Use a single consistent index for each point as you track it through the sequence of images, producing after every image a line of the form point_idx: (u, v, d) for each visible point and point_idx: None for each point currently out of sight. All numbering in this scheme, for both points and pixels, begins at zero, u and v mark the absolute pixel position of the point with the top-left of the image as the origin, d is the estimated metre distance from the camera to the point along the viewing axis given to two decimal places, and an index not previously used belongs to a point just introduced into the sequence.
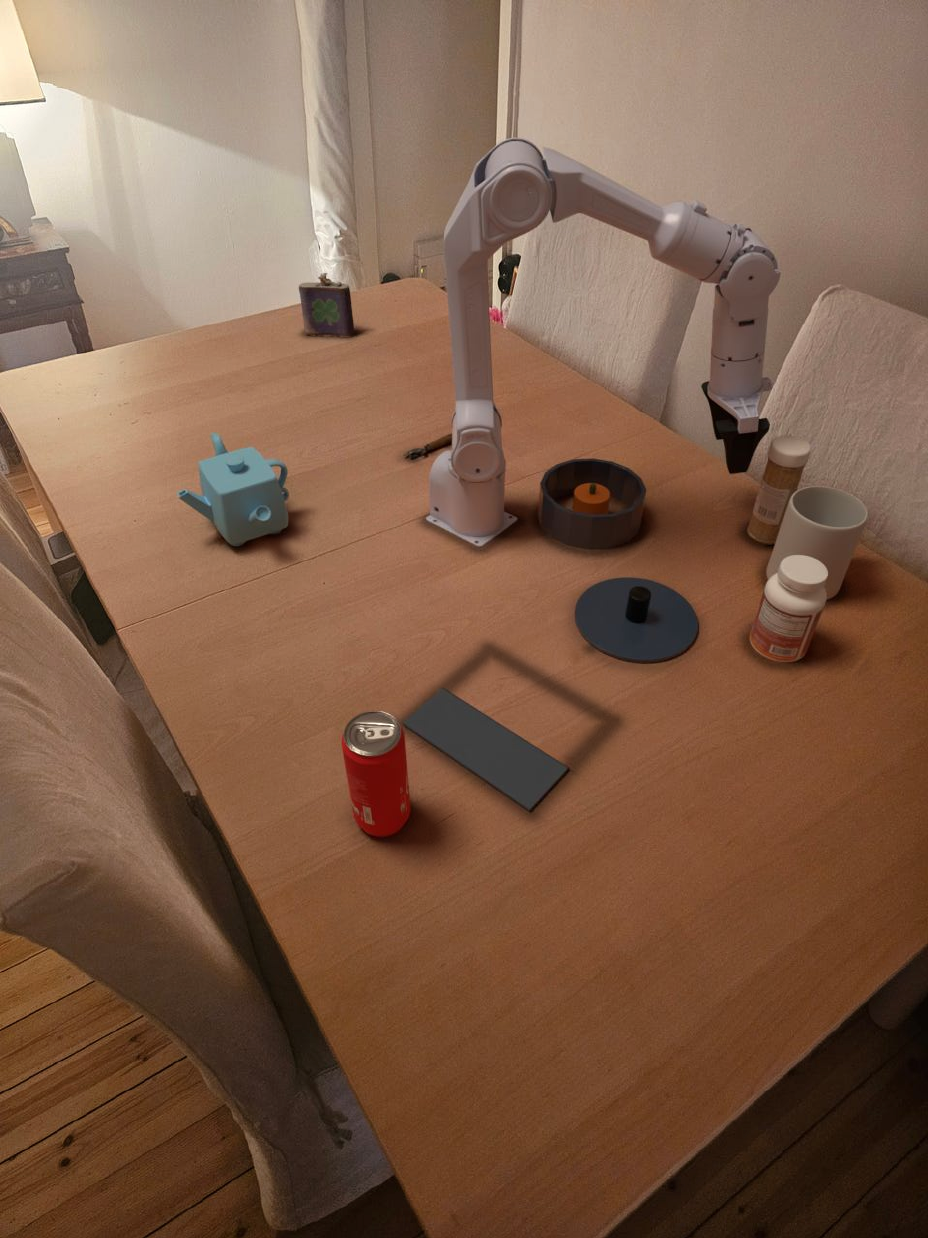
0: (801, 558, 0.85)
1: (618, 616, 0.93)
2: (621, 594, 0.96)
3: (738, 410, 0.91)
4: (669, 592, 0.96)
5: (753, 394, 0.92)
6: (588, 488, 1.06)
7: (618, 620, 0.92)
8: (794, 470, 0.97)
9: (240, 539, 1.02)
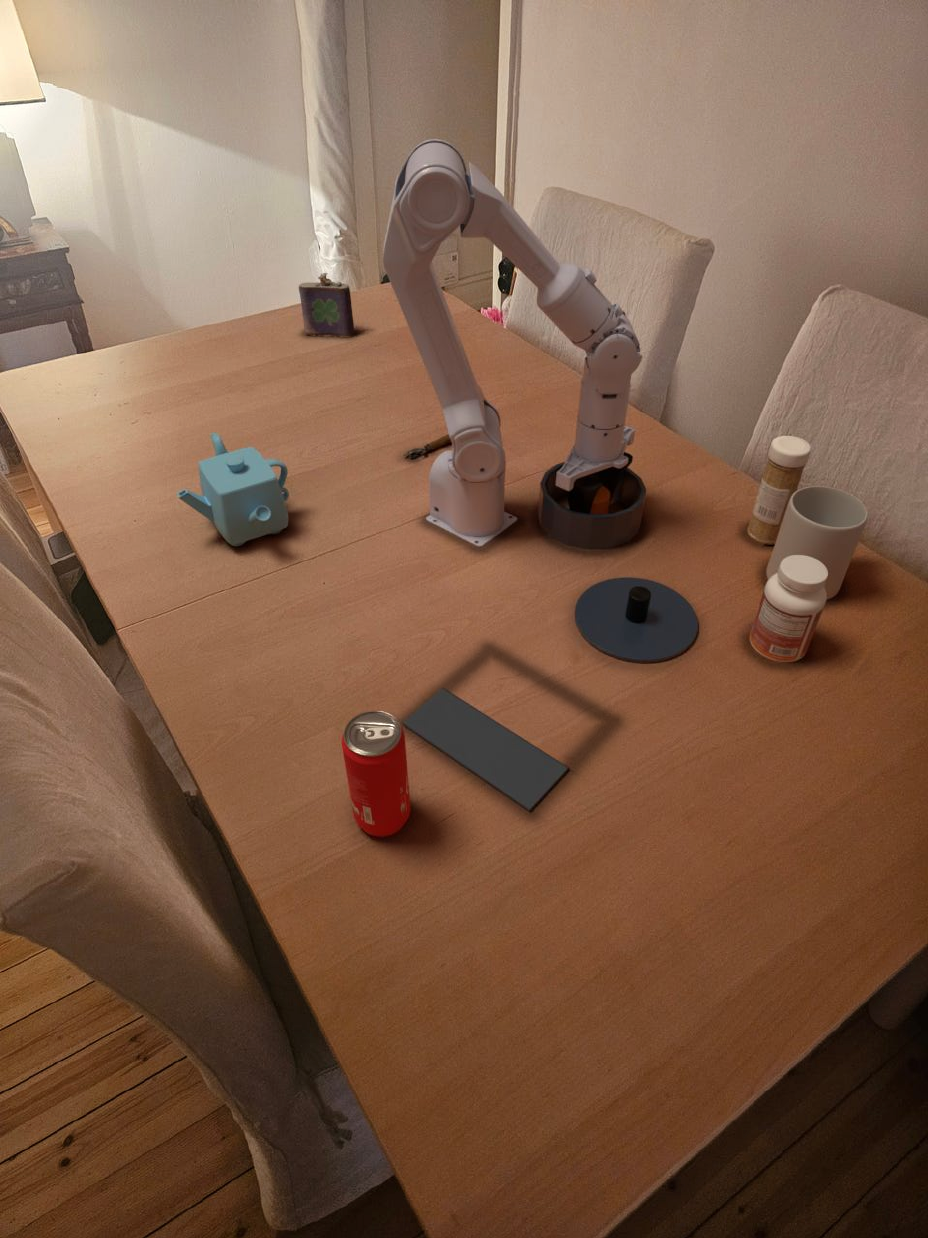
0: (801, 558, 0.85)
1: (618, 616, 0.93)
2: (621, 594, 0.96)
3: (570, 467, 0.99)
4: (669, 592, 0.96)
5: (595, 462, 0.99)
6: None
7: (618, 620, 0.92)
8: (794, 470, 0.97)
9: (240, 539, 1.02)
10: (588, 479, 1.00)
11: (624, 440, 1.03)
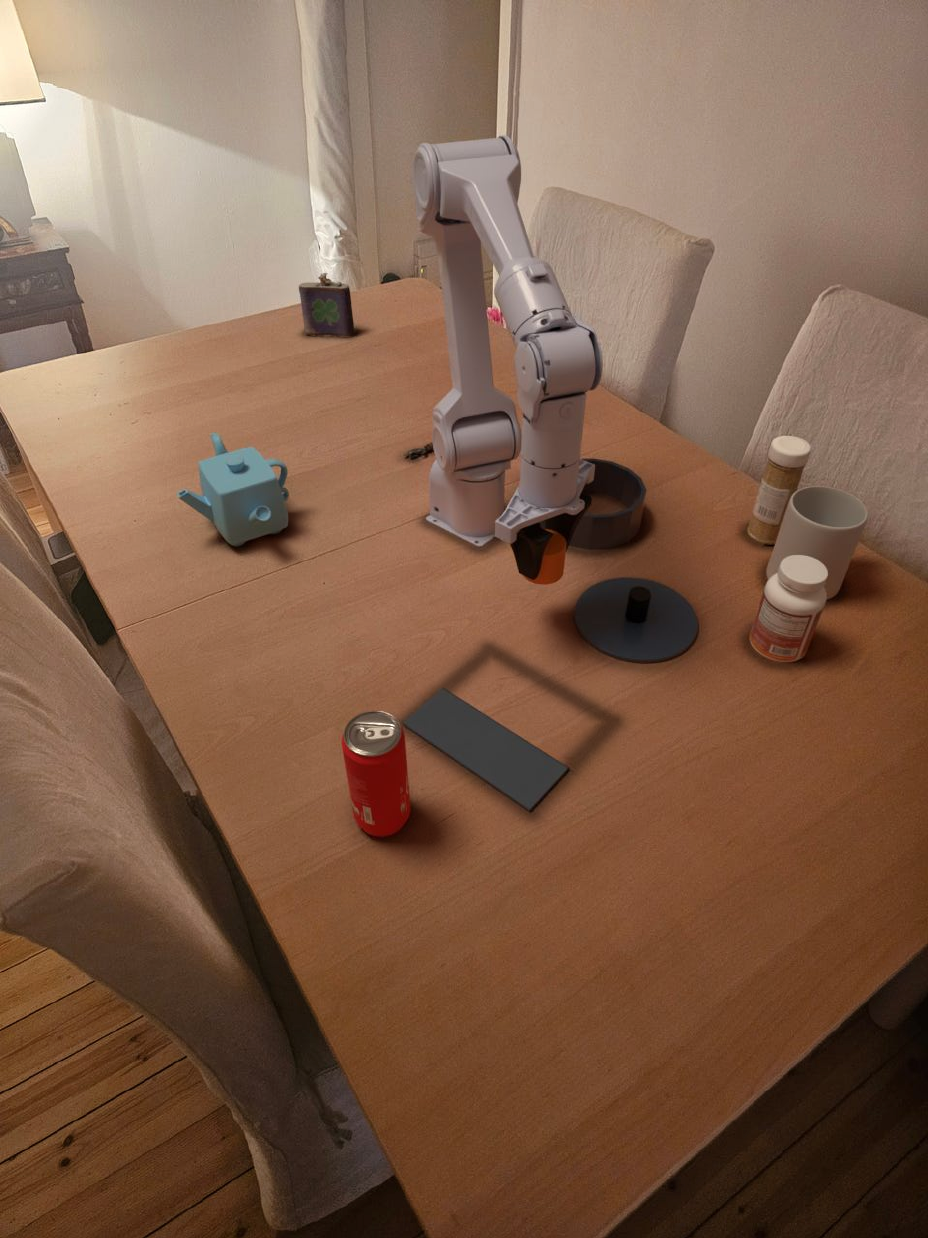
0: (801, 558, 0.85)
1: (618, 616, 0.93)
2: (621, 594, 0.96)
3: (512, 514, 0.80)
4: (669, 592, 0.96)
5: (544, 508, 0.80)
6: None
7: (618, 620, 0.92)
8: (794, 470, 0.97)
9: (240, 539, 1.02)
10: (536, 527, 0.81)
11: (581, 478, 0.84)
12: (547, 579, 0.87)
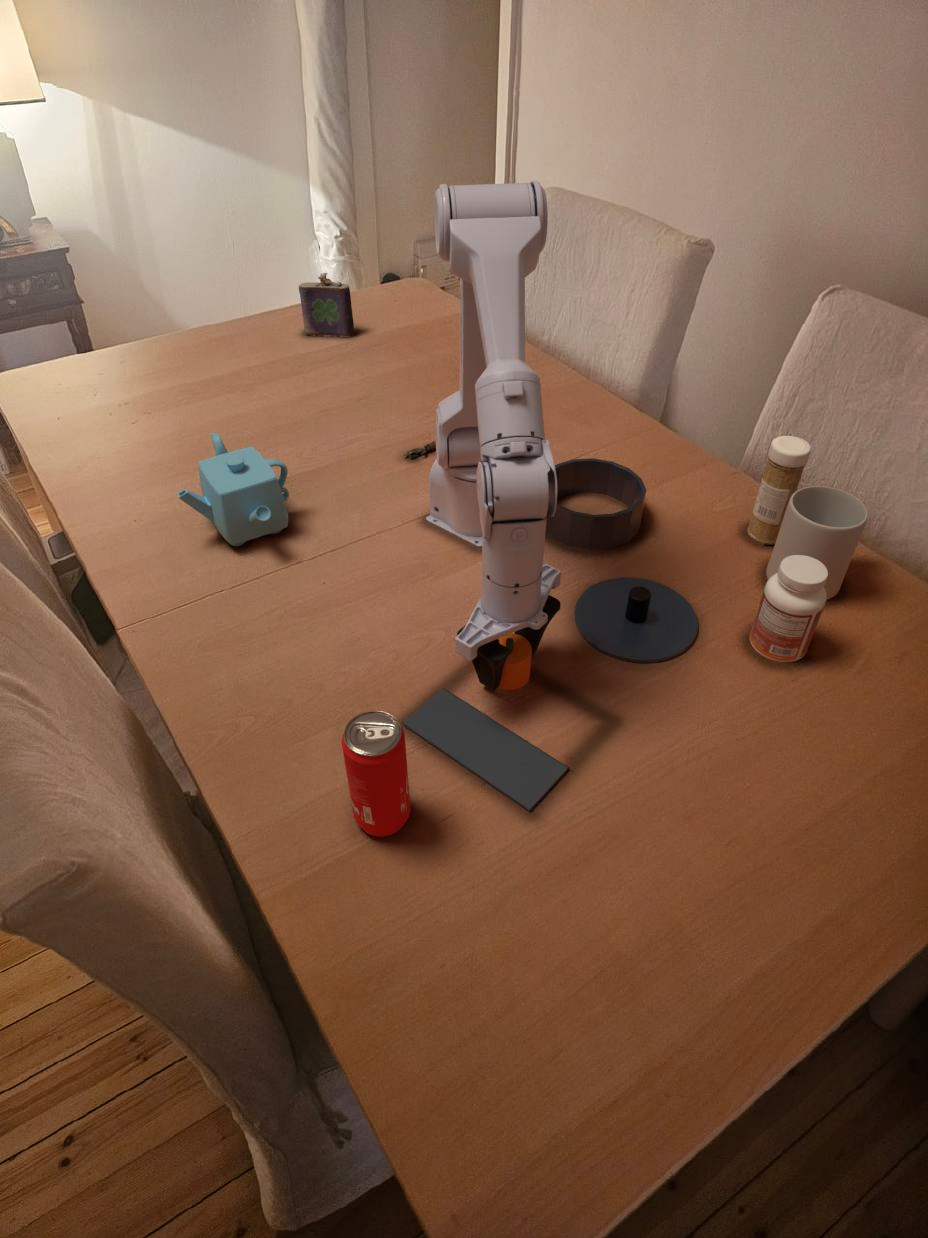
0: (801, 558, 0.85)
1: (618, 616, 0.93)
2: (621, 594, 0.96)
3: (473, 629, 0.78)
4: (669, 592, 0.96)
5: (506, 623, 0.78)
6: (505, 641, 0.85)
7: (618, 620, 0.92)
8: (794, 470, 0.97)
9: (240, 539, 1.02)
10: (494, 644, 0.79)
11: (546, 587, 0.83)
12: (512, 686, 0.85)
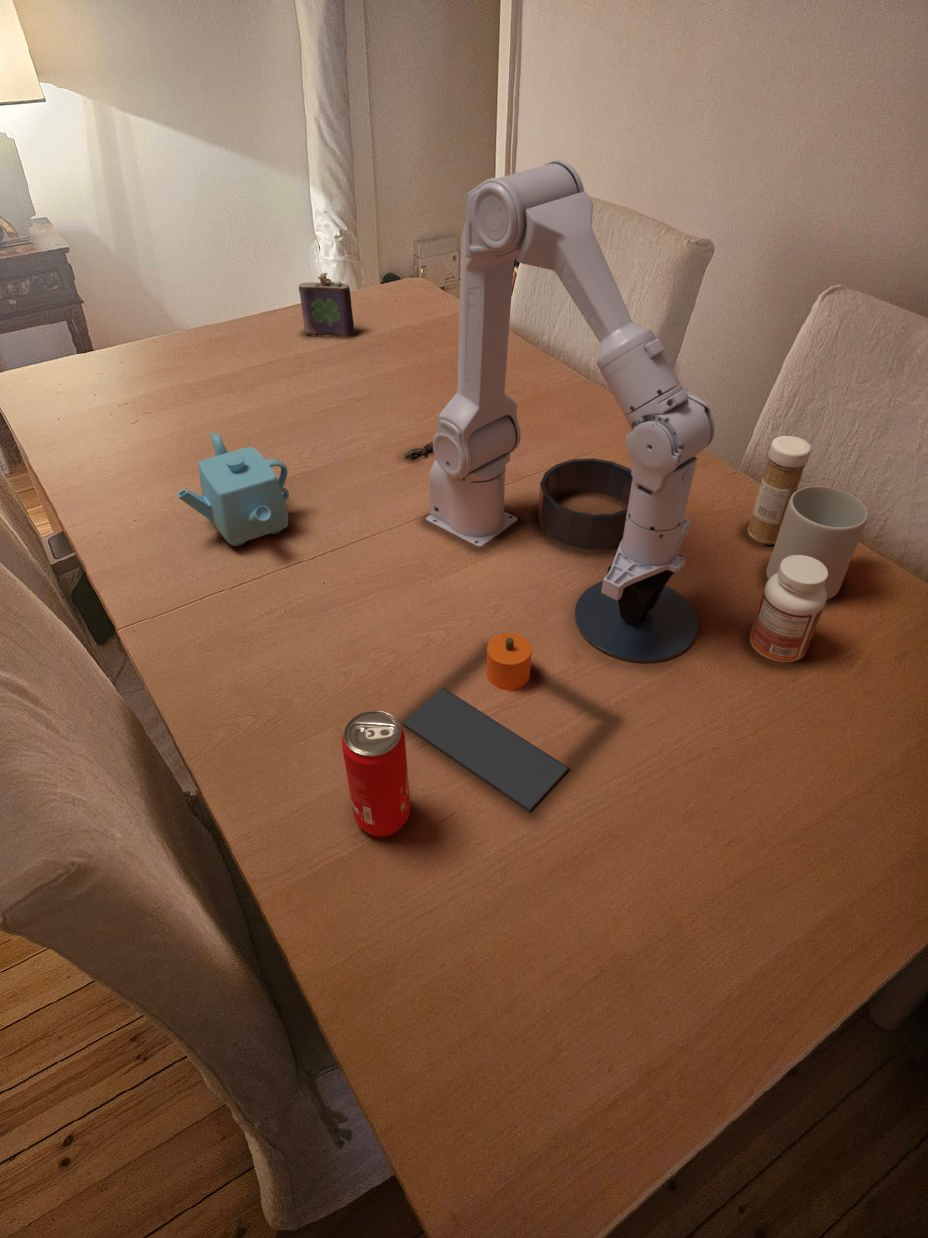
0: (801, 558, 0.85)
1: (618, 616, 0.93)
2: None
3: (617, 571, 0.84)
4: (669, 592, 0.96)
5: (648, 566, 0.84)
6: (505, 641, 0.85)
7: (618, 620, 0.92)
8: (794, 470, 0.97)
9: (240, 539, 1.02)
10: (644, 578, 0.86)
11: None
12: (512, 686, 0.85)
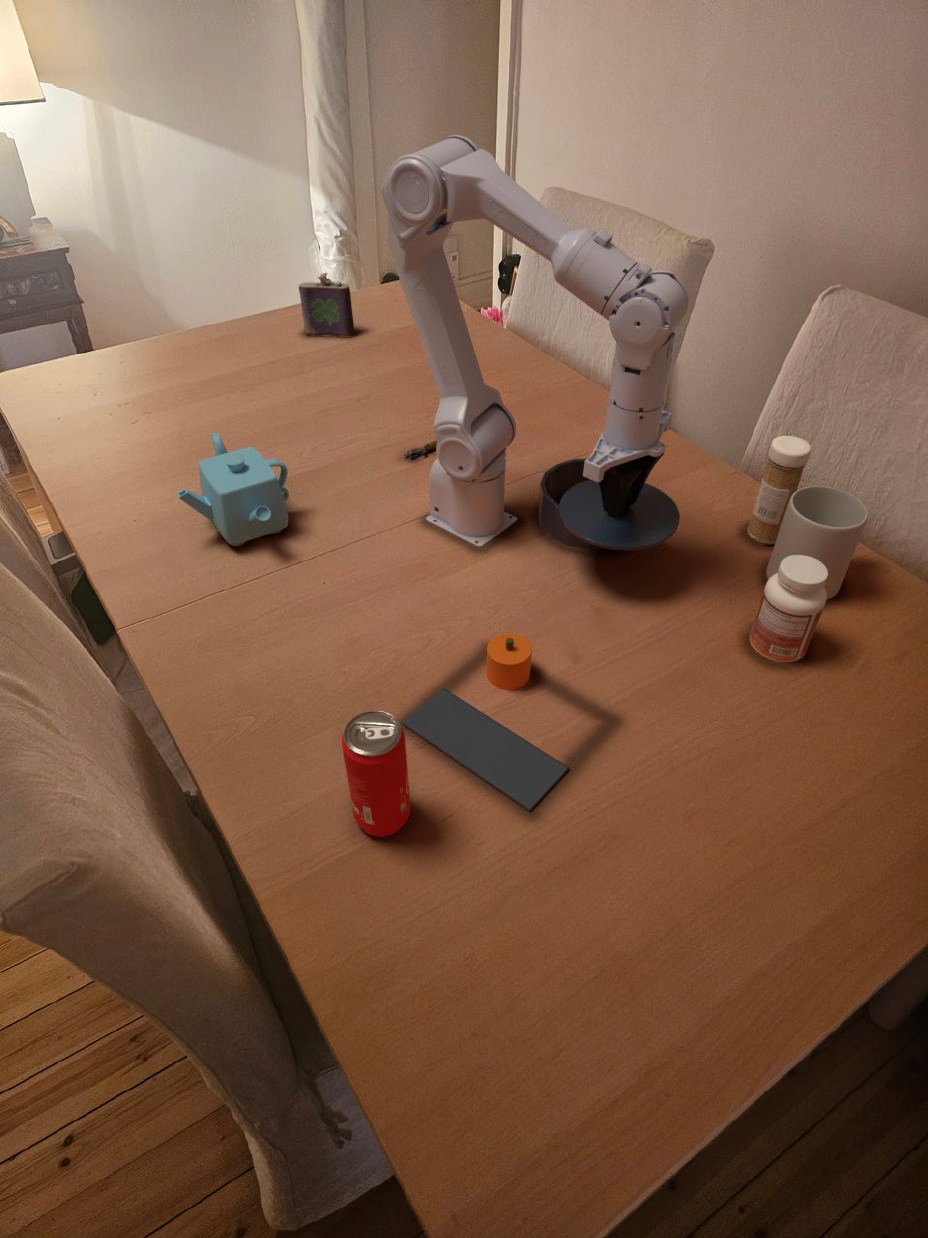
0: (801, 558, 0.85)
1: (602, 510, 0.95)
2: None
3: (599, 455, 0.86)
4: (652, 490, 0.98)
5: (629, 450, 0.86)
6: (505, 641, 0.85)
7: (601, 513, 0.94)
8: (794, 470, 0.97)
9: (240, 539, 1.02)
10: (625, 465, 0.88)
11: (660, 425, 0.90)
12: (512, 686, 0.85)
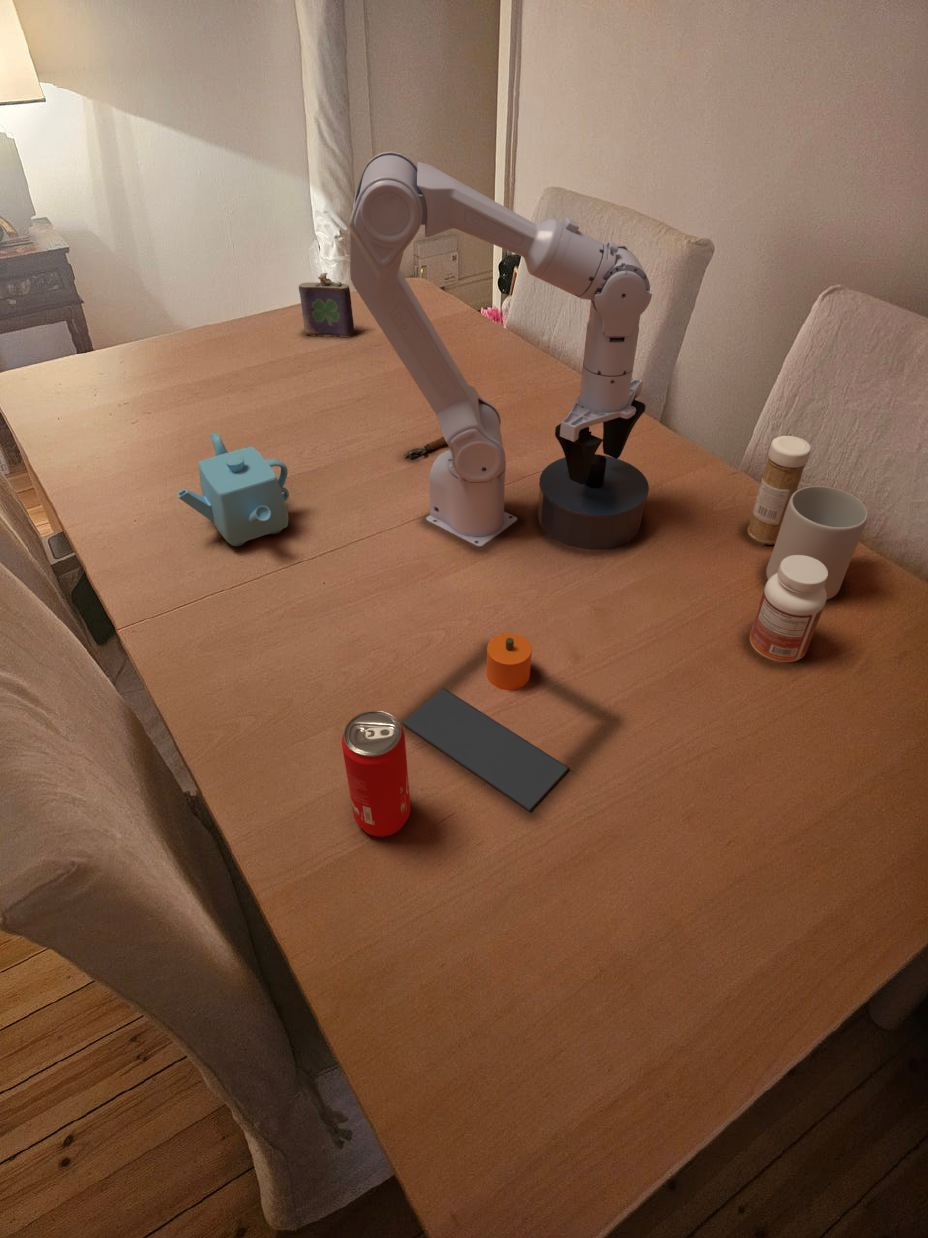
0: (801, 558, 0.85)
1: (578, 483, 1.04)
2: None
3: (574, 417, 0.94)
4: (624, 465, 1.07)
5: (602, 412, 0.94)
6: (505, 641, 0.85)
7: (578, 486, 1.03)
8: (794, 470, 0.97)
9: (240, 539, 1.02)
10: (587, 434, 0.95)
11: (631, 391, 0.98)
12: (512, 686, 0.85)
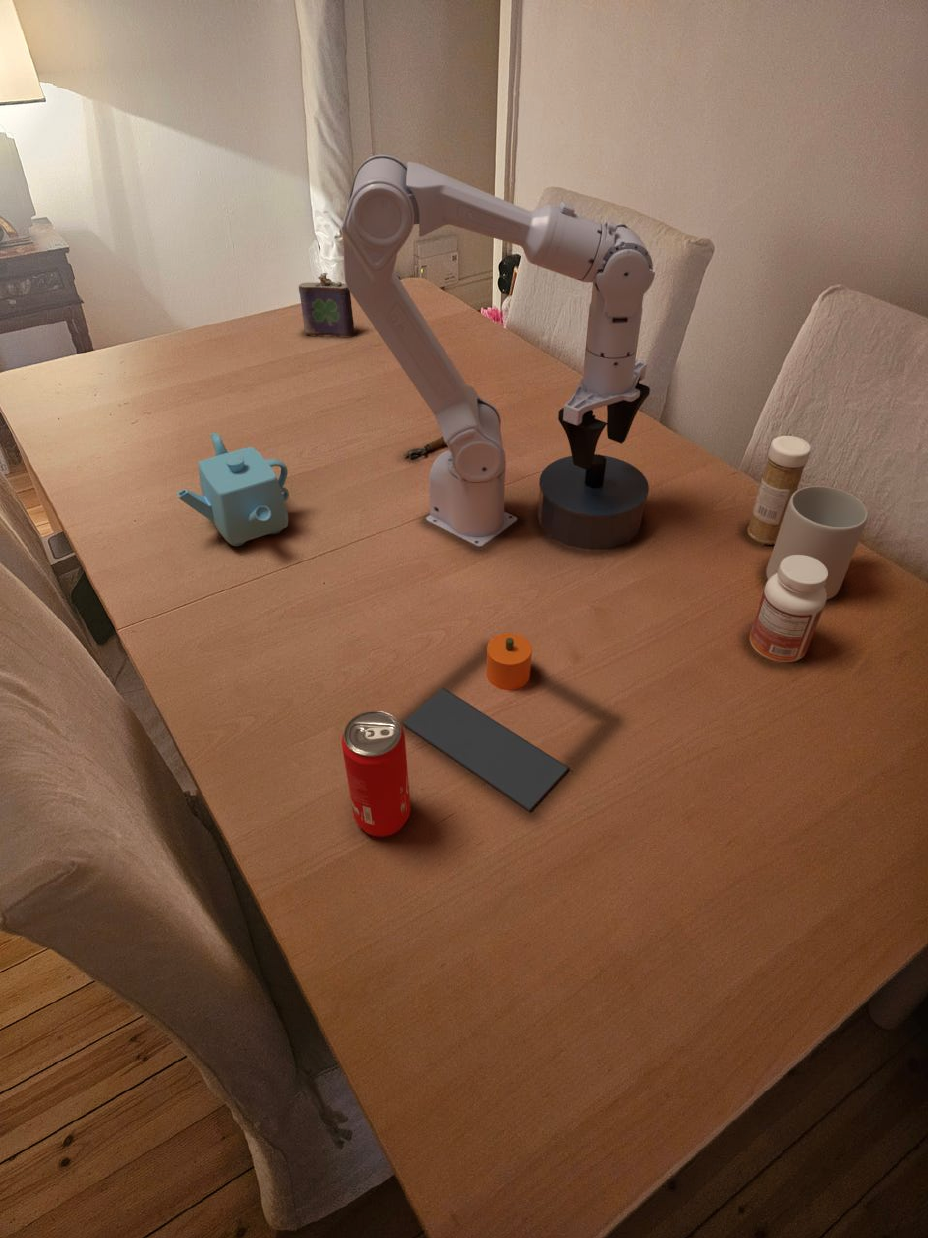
0: (801, 558, 0.85)
1: (578, 483, 1.04)
2: None
3: (578, 400, 0.93)
4: (624, 465, 1.07)
5: (605, 395, 0.93)
6: (505, 641, 0.85)
7: (578, 486, 1.03)
8: (794, 470, 0.97)
9: (240, 539, 1.02)
10: (591, 418, 0.93)
11: (635, 374, 0.97)
12: (512, 686, 0.85)
